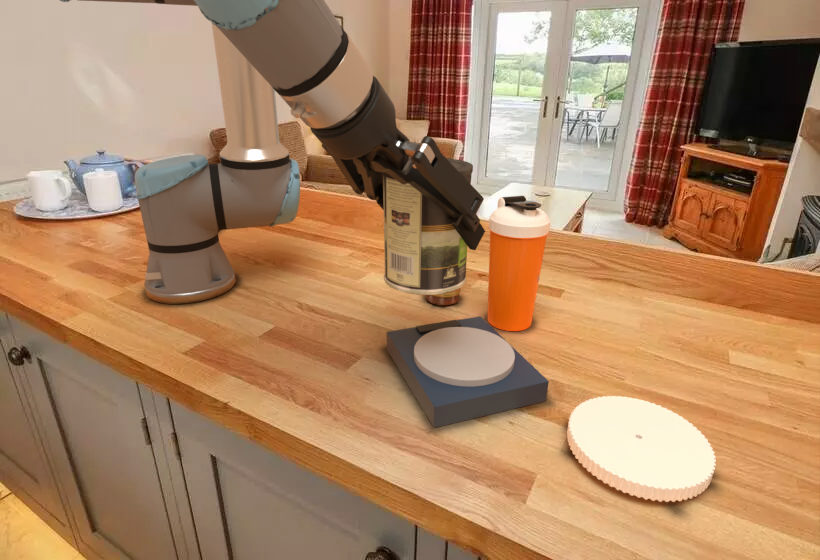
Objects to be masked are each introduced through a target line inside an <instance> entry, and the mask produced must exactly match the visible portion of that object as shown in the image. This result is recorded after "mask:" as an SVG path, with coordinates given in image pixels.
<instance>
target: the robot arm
mask: <svg viewBox="0 0 820 560" xmlns="http://www.w3.org/2000/svg"><path fill="white" fill-rule="evenodd" d="M59 1H60V2H62V3H69V2H70V1H71V0H59ZM79 1H82V2H83V1H84V2H108V3H110V2H112V3H133V4H134V3H136V4H138V3H139V4H156V5H157V4H159V5H173V6H174V5H175V6H176V5H177V6H192V7H193V6H195V7H198V9H199V11H200V13H201V14H202V16H203V17H204V18H205V19H206V20H208V21H209V22H211V28H212V35H213V36H212V37H213V44H214V51H215V52H214V53H215V58H216V59H215V60H216V66H217V74H218V82H219V88H220V89H219V90H220V96H221V97H220V98H221V104H222V111H223V117H224V125H225V134H226V141H227V142H226V145H225V146H224V147H223V148H222V149H220V152H219V159H220V162H219V163H209V160H208V158H207V157H206V155H203V154H193V155H192V154H187V155H180V156H173V157H168V158H167V157H166V158H164V159H159V160H156V161H155V160H154V161H152V162H148V163H146V164H144V165H141V166H140V167H139V168H138V169H137V170H136V171H135V173H134V185H135V191H136V195H135V197H136V199H137V202H138V206H139V210H140V215H141V220H142V224H143V228H144V233H145V238H146V242H147V247H148V259H147V265H146V272H145V273H144V275H145V279H144V289H145V293H146V296H147V297H148V298H149V299H150V300H152V301H155V302H157V303H162V304H173V305H175V304H178V305H179V304H189V303H190V304H191V303H196V302H202V301H206V300H209V299H213V298H215V297H218V296H221V295H222V294H225V293H227V292H228V291H230V290H231V289H232V288H233V287H234V286H235V284H236V281H237V280H236V274H235V270H234V267H233V266H232V264H231V262H230V261H229V258H228V256H227V255H226V253H225V250H224V249H223V247H222V245H221V243H220V238H219V231H225V230H227V231H229V230H238V229H248V228H262V227H263V228H264V227H270V228H272V227H274V226H279V225H286V224H290V223H292V222H294V221H295V219H296V217H297V215H298V213H299V208H300V200H301V179H300V178H301V177H300V174H301V173H300V172H301V171H300V167H299V162H298V161H297V160H296V159H293V158H290V151H289V149H288V148H287V147H286V146H285V145H283V144H282V143H281V141H280V134H279V133H280V132H279V123H278V122H279V121H278V111H277V110H278V109H277V99H276V93H277V95H279V96H280V98H281V99H282V101H284V102H285V103H286V104H287V105H288V107H289V108H290V114H291V115H292V117H294V118H295V119H300V120H301V121H302V122H303V123H304V124H305V125H306V126H307V127H309V129H310V132H311V133H312V134H313V135H314V136H315V137H316V139H317V140H318V141H319V142H320V143H321V148H323V149H324V150H325V151H326V153H327V154H328V155H329V156H330V158H332V159H333V161H334V162H335V163H336V165H337V168H339V170H340V172H341V173H342V175H343V177H344V178H345V180H346V182H347V183H348V184H349V186H350V187H351V189H352V191H353V192H354V193H355V194H356V195H359V196H363V194H365V195H366V197H367V198H368V199H369V200H371V201H375V202H376V204H377V205H378V206H379V207H380V208H381V210H382V211H384V201H383V172H386V173H388V174H389V175H390V176H392V177H393V178H394V179H396V180H397V181H398V182H400V183H401V184H403V185H405V184H410V185H411V186H413V187H414V188H415V189H417V190H418V191H419V192H420V193H422V194H423V195H424V196H426V197H427V198H428V199H430V200H431V201H432V202H434V203H435V204H436V205H438V206H439V207H440V208H442V209H443V210H444V211H445V212H447V213H448V214H449V215H450V216H449V218H448V220H449V221H450V224H452V225H453V227H454V228H455V229H456V231H457V232H458V233H459V235H460V236H461V238H462V239H463V240H464V242H465V243H466V244H467V248H468V249H469V250H472V251H476V250H477V249H478V246H479V244H480V242H481V241H482V238H483V237H484V234H485V233H486V230H485V228H484V226H483V225H482V223H481V218H479V216H478V214H477V213H478V211H479V209H480V207H481V206H482V204H483V202H484V200H485V198H484V197H483V195H482V194H481V193H480V192H479V191H477V189H476V188H475V187H474V186H473V185H472V183H471V184H470V183H469V182H468V181H467V180H466V179H465V178H464V177H463V176H462V175H461V173H460V172H459V171H458V170H457V169H456V168H455V167H454V166H453V165H452V164H451V163H450V162H449V161H448V160H447V159H446V158H447V157H446V156H445V155H444V154H443V153H442V151H441V150H440V148H439V146H438V145H437V142H436V141H435V139H433V138H432V137H431V136H428V135H424V136H423V138H422V139H421V141H420V142H416V141H410V140H411V139H409V137H407V136H406V135H405V134H404V133H403V132H402V131H401V130H400V129H399V128H398V127H397V119H396V107H395V104H394V102H393V100H392V99H391V97H390V96H389V95H388V93H387V92H386V90H385V88H384V87H383V85H381V83H380V81H379V80H378V78H377V77H376V76H374V74H373V70H372V68H371V66H370V64H368V62H367V61H366V59H365V57H364V56H363V55H362V53H361V52H360V50H359V49H358V47H357V46H356V44H355V43H354V42H353V40H352V38H351V37H350V36H349V34H348V33H347V31H345V29H344V28H343V26H342V25H341V24H340V22H339V21H338V20H337V18H336V17H335V15H334V13H333V12H332V10H331V9H330V7H329V5H328V3H327V2H326V1H325V0H78V2H79ZM409 158H411V159H412V161H411V163H410V165H409V166H408V168H407V170H406V171H405V173H404V174H403V173H402V172H401V171H402V170H403V169H404V167H405V165H406V164H407V162H408V159H409Z"/></svg>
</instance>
